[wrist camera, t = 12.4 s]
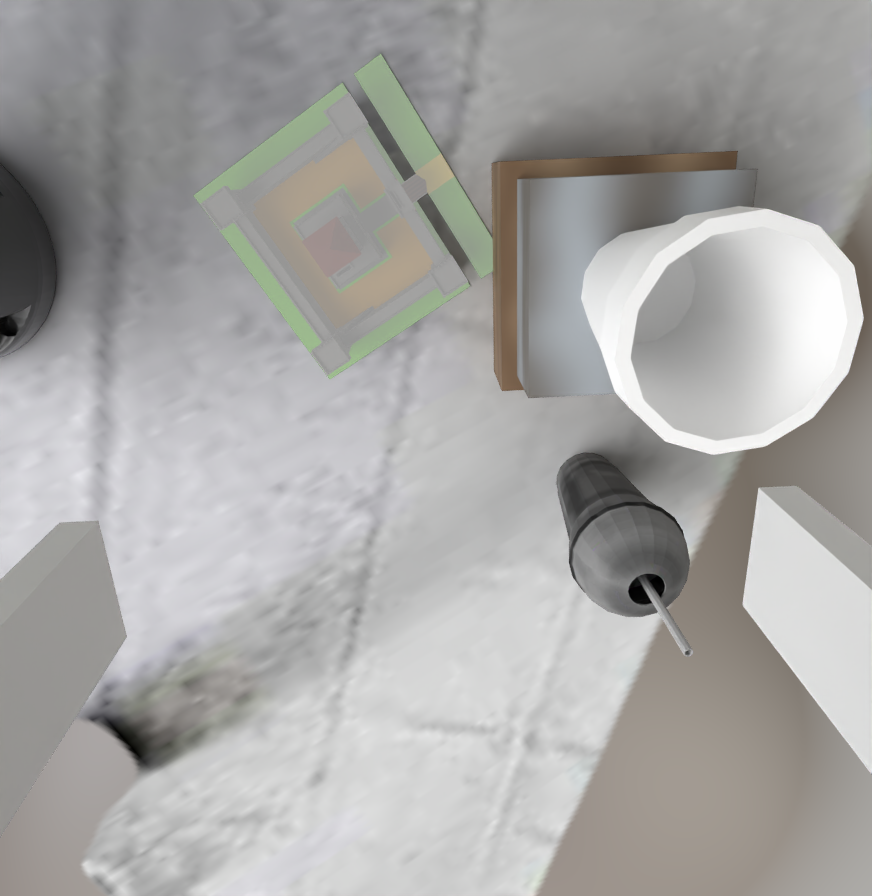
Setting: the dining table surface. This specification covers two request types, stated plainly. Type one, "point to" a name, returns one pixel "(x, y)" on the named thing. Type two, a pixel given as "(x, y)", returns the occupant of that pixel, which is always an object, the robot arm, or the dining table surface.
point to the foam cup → (724, 324)
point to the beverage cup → (621, 542)
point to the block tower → (581, 251)
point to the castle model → (348, 222)
